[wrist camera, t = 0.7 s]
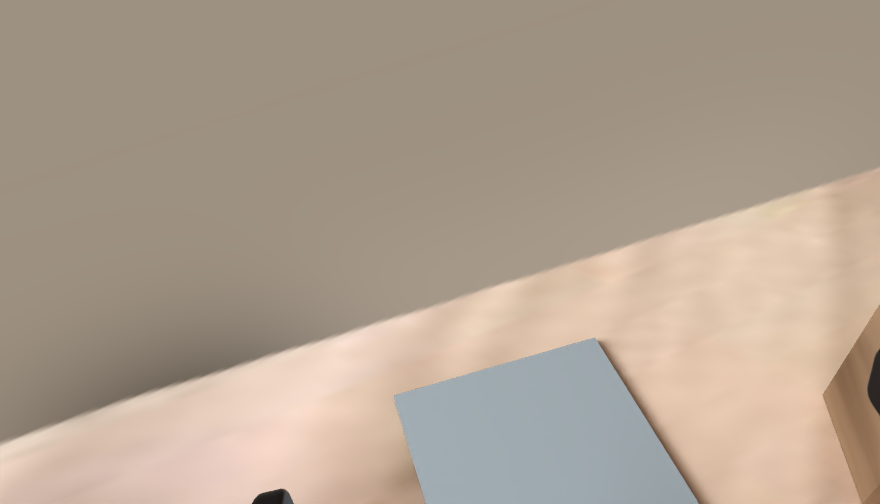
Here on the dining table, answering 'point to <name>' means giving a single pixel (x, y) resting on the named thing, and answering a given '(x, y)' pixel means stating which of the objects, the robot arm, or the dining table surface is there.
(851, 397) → the wooden block
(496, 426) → the slate-blue rubber mat
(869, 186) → the dining table surface
